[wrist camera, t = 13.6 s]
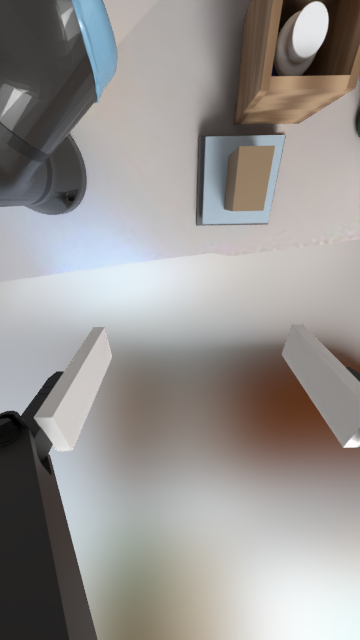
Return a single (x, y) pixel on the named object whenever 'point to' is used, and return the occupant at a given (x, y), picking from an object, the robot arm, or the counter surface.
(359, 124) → the character mug
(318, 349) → the robot arm
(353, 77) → the box
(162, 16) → the counter surface
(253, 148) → the lid
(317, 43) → the pill bottle
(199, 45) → the counter surface
